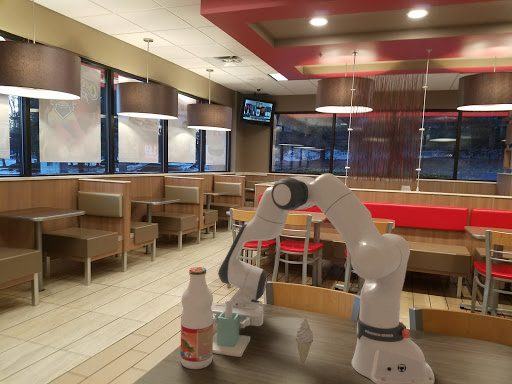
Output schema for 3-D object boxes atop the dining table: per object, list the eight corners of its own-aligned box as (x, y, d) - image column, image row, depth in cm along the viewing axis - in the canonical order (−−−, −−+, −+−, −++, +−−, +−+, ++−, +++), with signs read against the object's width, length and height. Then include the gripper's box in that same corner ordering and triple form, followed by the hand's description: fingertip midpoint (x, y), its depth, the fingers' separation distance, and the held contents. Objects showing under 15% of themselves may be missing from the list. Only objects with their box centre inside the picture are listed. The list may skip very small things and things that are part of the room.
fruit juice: (213, 369, 108) (214, 273, 106) (179, 371, 106) (180, 274, 104) (211, 352, 117) (213, 264, 115) (181, 354, 116) (181, 264, 113)
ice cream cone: (311, 371, 108) (313, 320, 106) (293, 369, 109) (295, 318, 107) (312, 362, 113) (314, 313, 111) (295, 360, 114) (297, 312, 112)
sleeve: (238, 339, 124) (239, 312, 123) (234, 347, 119) (234, 319, 118) (222, 337, 125) (223, 311, 125) (217, 345, 120) (217, 317, 119)
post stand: (250, 339, 126) (251, 295, 125) (240, 356, 115) (242, 308, 114) (216, 334, 129) (217, 291, 128) (203, 351, 117) (204, 304, 116)
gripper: (211, 296, 136) (197, 310, 123) (267, 302, 132) (258, 318, 118) (211, 313, 137) (197, 329, 123) (266, 319, 132) (257, 337, 119)
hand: (227, 323), depth 121 cm, fingers open, 8 cm apart
